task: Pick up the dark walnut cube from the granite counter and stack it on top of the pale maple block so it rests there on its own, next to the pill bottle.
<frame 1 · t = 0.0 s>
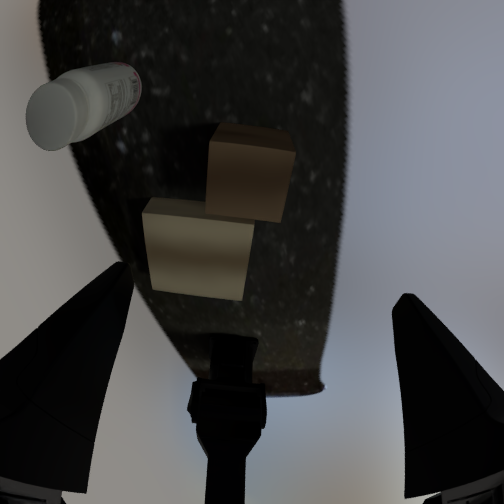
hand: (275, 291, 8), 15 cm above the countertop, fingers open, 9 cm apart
walnut cube: (249, 156, 20), on the countertop
pill bottle: (116, 89, 17), on the countertop
maple block: (201, 240, 26), on the countertop
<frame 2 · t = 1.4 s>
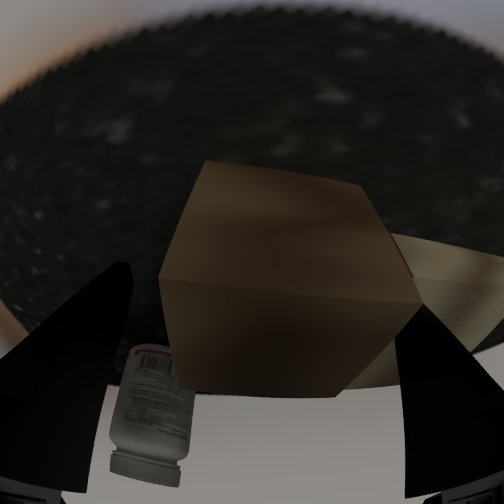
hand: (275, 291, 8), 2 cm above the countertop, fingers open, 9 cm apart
walnut cube: (272, 233, 10), on the countertop
pill bottle: (164, 357, 17), on the countertop
maple block: (416, 302, 13), on the countertop, touching gripper
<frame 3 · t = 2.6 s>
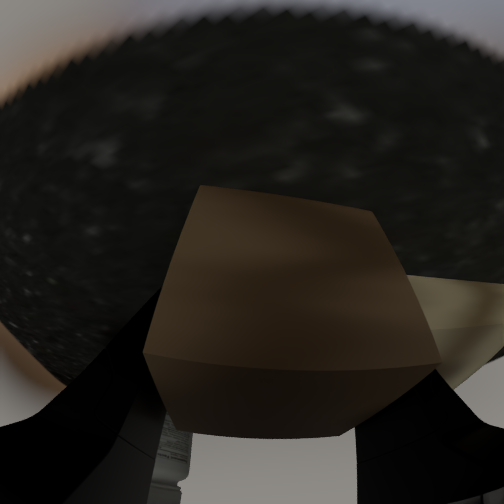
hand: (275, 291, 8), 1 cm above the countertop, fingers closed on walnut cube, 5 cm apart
walnut cube: (274, 264, 9), on the countertop, touching gripper
pill bottle: (163, 377, 16), on the countertop
maple block: (413, 333, 13), on the countertop
when the fingers open (4 cm above the countertop, at t = 6.6 s): walnut cube moves 1 cm, resting on maple block.
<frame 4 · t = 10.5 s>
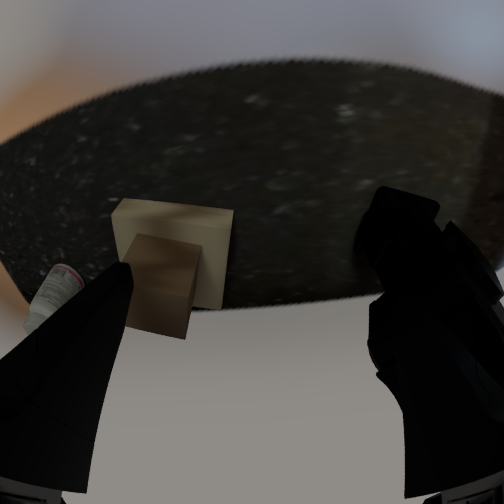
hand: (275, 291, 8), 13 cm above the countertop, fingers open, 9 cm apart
walnut cube: (167, 263, 21), point 2 cm above the countertop, touching maple block
pill bottle: (69, 276, 27), on the countertop
maple block: (178, 244, 24), on the countertop, touching walnut cube
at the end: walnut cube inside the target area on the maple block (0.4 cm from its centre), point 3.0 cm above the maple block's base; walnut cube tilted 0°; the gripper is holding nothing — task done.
